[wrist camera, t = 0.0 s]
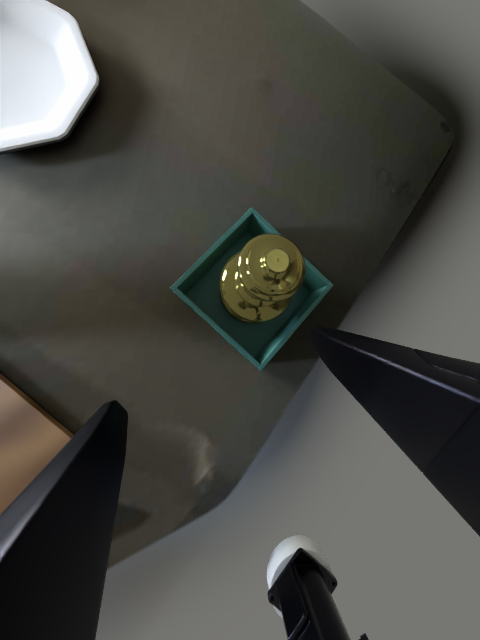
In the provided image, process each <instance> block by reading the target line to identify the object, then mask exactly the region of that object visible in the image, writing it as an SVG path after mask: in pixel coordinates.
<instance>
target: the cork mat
mask: <svg viewBox="0 0 480 640" xmlns="http://www.w3.org/2000/svg"><path fill="white" fill-rule="evenodd" d="M73 436H74V435H73V434H72V433H71V432H70V431H69V430H67V429H66V428H65V427H64V426H63V425H61V424H60V423H59V422H58V421H57V420H55V419H54V418H53V417H52V416H51V415H49V414H48V413H47V412H46V411H45V410H44V409H42V408H41V407H40V406H39V405H38V404H36V403H35V402H34V401H33V400H32V399H30V398H29V397H28V396H27V395H26V394H24V393H23V392H22V391H21V390H20V389H18V388H17V387H16V386H15V385H14V384H13V383H11V382H10V381H9V380H8V379H7V378H5V377H4V376H3V375H2V374H1V373H0V515H1V513H2V512H3V511H4V510H5V509H6V508H7V507H8V506H9V505H10V504H11V503H12V502H13V501H14V500H15V498H16V497H17V496H18V495H19V494H20V493H21V492H22V491H23V490H24V489H25V488H26V487H27V486H28V485H29V483H30V482H31V481H32V480H33V479H34V478H35V477H36V476H37V475H38V474H39V473H40V472H41V471H42V470H43V468H44V467H45V466H46V465H47V464H48V463H49V462H50V461H51V460H52V459H53V458H54V457H55V456H56V455H57V453H58V452H59V451H60V450H61V449H62V448H63V447H64V446H65V445H66V444H67V443H68V442H69V441H70V439H71V438H72V437H73Z"/></svg>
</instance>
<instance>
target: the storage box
mask: <svg viewBox="0 0 480 640" xmlns="http://www.w3.org/2000/svg"><path fill="white" fill-rule="evenodd" d="M267 233H272V234H279V235H281V234H280V233H279V232H278V231H277V230H276V229H274V228H273V227H272V226H271V225H270V224H269V223H268V222H267V221H266V220H265V219H264V218H263V217H262V216H261V215H260V214H259V213H258V212H257V211H255V209H254V208H253V207H251V208H250V209H249V210H248V211H247V212H246V213H245V214H244V215H243V216H242V217H241V218H240V219H239V220H238V221H237V222H236V223H235V224H234V225H233V226H232V227H231V228H230V229H229V230H228V231H227V232H226V233H225V234H224V235H223V236H222V237H221V238H220V239H219V240H218V241H217V242H216V243H215V244H214V245H213V246H212V247H211V248H210V249H209V250H208V251H207V252H206V253H205V254H204V255H203V256H202V257H201V258H200V259H199V260H198V261H197V262H196V263H195V264H194V265H193V266H192V267H191V268H190V269H189V270H188V271H187V272H186V273H185V274H183V275H182V276H181V277H180V278H179V279H178V280H177V281H176V282H175V283H174V284H173V285H172V286H171V287H170V289H171V290H172V291H173V292H174V293H175V294H177V295H178V296H179V297H180V298H181V299H182V300H183V301H184V302H185V303H186V304H188V305H189V306H190V307H191V308H192V309H193V310H194V311H195V312H196V313H197V314H199V315H200V316H201V317H202V318H203V319H204V320H205V321H206V322H207V323H208V324H210V325H211V326H212V327H213V328H214V329H215V330H216V331H217V332H218V333H219V334H220V335H222V336H223V337H224V338H225V339H226V340H227V341H228V342H229V343H230V344H231V345H233V346H234V347H235V348H236V349H237V350H238V351H239V352H240V353H241V354H242V355H244V356H245V357H246V358H247V359H248V360H249V361H250V362H251V363H252V364H253V365H255V366H256V367H257V368H258V369H259V370H260V371H262V370H263V368H264V367H265V366H266V365H267V364H268V362H269V361H270V360H271V359H272V358H273V357H274V355H275V354H276V353H277V352H278V351H279V349H280V348H281V347H282V346H283V345H284V344H285V342H286V341H287V340H288V339H289V338H290V336H291V335H292V334H293V333H294V332H295V330H296V329H297V328H298V327H299V326H300V325H301V323H302V322H303V321H304V320H305V319H306V317H307V316H308V315H309V314H310V313H311V312H312V310H313V309H314V308H315V307H316V306H317V304H318V303H319V302H320V301H321V300H322V298H323V297H324V296H325V295H326V294H327V293H328V291H329V290H330V289H331V288H332V287H333V284H332V283H331V282H330V281H329V280H328V279H327V278H326V277H325V276H323V275H322V274H321V273H320V272H319V271H318V270H317V269H316V268H315V267H314V266H313V265H312V264H311V263H310V262H309V261H308V260H307V259H306V258H305V257H304V256H303V257H304V260H305V266H306V272H305V278H304V281H303V283H302V285H301V287H300V288H299V289H298V291H297V292H296V293H295V294H293V298H292V300H291V303H290V304H289V306H288V308H287V309H286V310H285V311H284V312H283V313H282V314H281V315H280V316H278V317H277V318H275V319H273V320H270V321H267V322H263V323H257V324H248V323H243V322H240V321H237V320H236V319H234V318H233V317H231V316H230V315H229V314H228V313H227V312H226V310H225V309H224V307H223V305H222V302H221V298H220V291H219V288H220V276H221V272H222V270H223V268H224V266H225V264H226V263H227V262H228V260H229V259H230V258H231V257H232V256H234V255H235V254H237V253H238V252H240V251H241V250H242V249H243V247H244V246H245V245H246V243H247V242H249V241H250V240H251V239H252V238H254V237H256V236H258V235H261V234H267Z"/></svg>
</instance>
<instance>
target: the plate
mask: <svg viewBox="0 0 480 640" xmlns="http://www.w3.org/2000/svg"><path fill="white" fill-rule="evenodd" d="M99 85H100V79H99V76H98V73H97V71H96V68H95V66H94V63H93V61H92V58H91V55H90V53H89V50H88V48H87V45H86V43H85V40H84V38H83V35H82V32H81V30H80V27H79V25H78V22H77V21H76V20H75V18H74V17H73V16H72V15H71V14H70V13H68V12H66V11H64V10H63V9H61V8H59V7H57V6H55V5H53V4H52V3H50V2H48V1H46V0H0V154H5V153H10V152H15V151H19V150H24V149H29V148H34V147H38V146H43V145H48V144H53V143H57V142H62V141H63V140H65V139H66V138H68V137H69V135H70V134H71V132H72V131H73V129H74V128H75V126H76V124H77V123H78V121H79V120H80V118H81V116H82V115H83V113H84V112H85V110H86V108H87V107H88V105H89V104H90V102H91V100H92V99H93V97H94V96H95V94H96V92H97V91H98V89H99Z"/></svg>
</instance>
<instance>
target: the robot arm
mask: <svg viewBox="0 0 480 640" xmlns="http://www.w3.org/2000/svg"><path fill="white" fill-rule="evenodd" d="M310 343H311V345H312V347H313V348H314V349H315V351H316V352H317V353H318V355H319V356H320V358H321V359H322V360H323V362H324V363H325V364H326V365H327V367H328V368H329V370H330V371H331V372H332V373H333V374H334V376H335V377H336V378H337V379H338V380H339V381H340V382H341V383H342V384H343V385H344V387H345V388H346V389H347V390H348V391H349V392H350V393H351V394H352V395H353V397H354V398H355V399H356V400H357V401H358V402H359V403H360V404H361V405H362V406H363V408H364V409H365V410H366V411H367V412H368V413H369V414H370V415H371V416H372V418H373V419H374V420H375V421H376V422H377V423H378V424H379V425H380V426H381V427H382V429H383V430H384V431H385V432H386V433H387V434H388V435H389V436H390V438H391V439H392V440H393V441H394V442H395V443H396V444H397V445H398V446H399V447H400V449H401V450H402V451H403V452H404V453H405V454H406V455H407V456H408V457H409V458H410V459H411V461H412V462H413V463H414V464H415V465H416V466H417V467H418V469H419V470H420V471H421V472H423V474H424V475H425V476H426V477H427V479H428V480H429V481H430V482H431V483H432V484H433V485H434V486H435V488H436V489H437V490H438V491H439V492H440V493H441V494H442V495H443V496H444V498H445V499H446V500H447V501H448V502H449V503H450V504H451V505H452V506H453V507H454V509H455V510H456V511H457V512H458V513H459V514H460V515H461V516H462V517H463V519H464V520H465V521H466V522H467V523H468V524H469V525H470V526H471V527H472V528H473V530H474V531H475V532H476V533H477V534H478V535H479V536H480V363H475V362H470V361H465V360H460V359H456V358H451V357H447V356H442V355H437V354H434V353H430V352H426V351H422V350H418V349H412V348H409V347H405V346H401V345H397V344H393V343H389V342H385V341H381V340H377V339H373V338H369V337H365V336H361V335H357V334H353V333H349V332H345V331H341V330H337V329H333V328H329V327H325V326H321V325H317V326H314V327H312V328H311V329H310ZM127 426H128V413H127V411H126V410H125V409H124V408H123V407H122V406H121V404H120V403H119V402H118V401H116V400H113V401H110V402H108V403H105V404H103V405H102V406H101V407H100V408H99V409H98V411H97V412H96V413H95V414H94V415H93V416H92V417H91V418H90V419H89V420H88V421H87V422H86V423H85V424H84V426H83V427H82V428H81V429H80V430H79V431H78V432H77V433H76V434H75V435H74V436H73V437H72V438H71V439H70V441H69V442H68V443H67V444H66V445H65V446H64V447H63V448H62V449H61V450H60V451H59V452H58V453H57V455H56V456H55V457H54V458H53V459H52V460H51V461H50V462H49V463H48V464H47V465H46V466H45V467H44V468H43V470H42V471H41V472H40V473H39V474H38V475H37V476H36V477H35V478H34V479H33V480H32V481H31V482H30V483H29V485H28V486H27V487H26V488H25V489H24V490H23V491H22V492H21V493H20V494H19V495H18V496H17V497H16V498H15V500H14V501H13V502H12V503H11V504H10V505H9V506H8V507H7V508H6V509H5V510H4V511H3V512H2V513H1V515H0V640H95V637H96V631H97V625H98V619H99V613H100V607H101V601H102V595H103V589H104V583H105V577H106V571H107V565H108V559H109V553H110V547H111V541H112V535H113V529H114V523H115V517H116V510H117V504H118V498H119V492H120V486H121V480H122V474H123V468H124V462H125V455H126V442H127ZM336 586H337V581H336V578H335V576H334V575H333V574H332V573H330V572H329V571H328V570H327V569H326V568H325V567H324V566H322V565H321V564H320V563H319V562H318V561H317V560H315V559H314V558H313V557H312V556H311V555H310V554H308V553H307V552H306V551H305V550H304V549H303V548H298V549H297V550H296V552H295V553H294V555H293V556H292V558H291V559H290V561H289V562H288V564H287V565H286V566H285V568H284V569H283V571H282V572H281V574H280V575H279V577H278V578H277V579H276V581H275V582H274V584H273V585H272V587H271V588H270V590H269V591H268V599H269V602H270V603H271V604H272V605H273V606H275V607H276V608H277V609H278V610H279V611H281V612H282V616H283V620H284V625H285V630H286V634H287V638H288V640H350V637H349V635H348V632H347V630H346V628H345V625H344V623H343V621H342V619H341V616H340V614H339V611H338V609H337V607H336V604H335V602H334V600H333V597H332V595H331V594H332V592H333V591H334V590H335V588H336ZM360 637H361V638H360V639H359V640H368V638H367V636H366V634H363V635H361V636H360Z"/></svg>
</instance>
